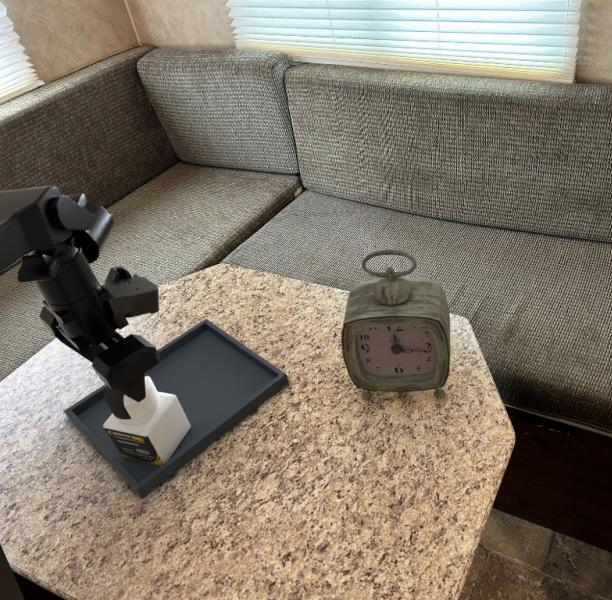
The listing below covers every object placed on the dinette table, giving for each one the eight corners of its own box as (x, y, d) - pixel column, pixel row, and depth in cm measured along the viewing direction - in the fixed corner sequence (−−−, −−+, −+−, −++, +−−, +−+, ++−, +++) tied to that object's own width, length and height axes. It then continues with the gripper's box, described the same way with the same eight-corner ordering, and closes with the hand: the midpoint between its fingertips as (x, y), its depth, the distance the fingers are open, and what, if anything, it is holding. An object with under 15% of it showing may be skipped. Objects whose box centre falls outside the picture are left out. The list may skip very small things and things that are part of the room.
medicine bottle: (121, 457, 85) (85, 401, 77) (151, 418, 90) (120, 361, 82) (164, 467, 83) (132, 410, 75) (192, 426, 88) (164, 369, 80)
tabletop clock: (353, 408, 89) (325, 272, 73) (360, 363, 96) (335, 230, 80) (453, 407, 87) (445, 268, 71) (452, 362, 94) (445, 226, 78)
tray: (141, 499, 80) (136, 490, 79) (69, 419, 92) (63, 410, 91) (289, 383, 94) (286, 373, 92) (209, 327, 106) (206, 318, 104)
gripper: (177, 282, 68) (216, 378, 78) (98, 230, 78) (142, 321, 88) (83, 338, 62) (138, 434, 72) (11, 274, 72) (69, 365, 82)
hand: (123, 383), depth 78 cm, fingers open, 9 cm apart
